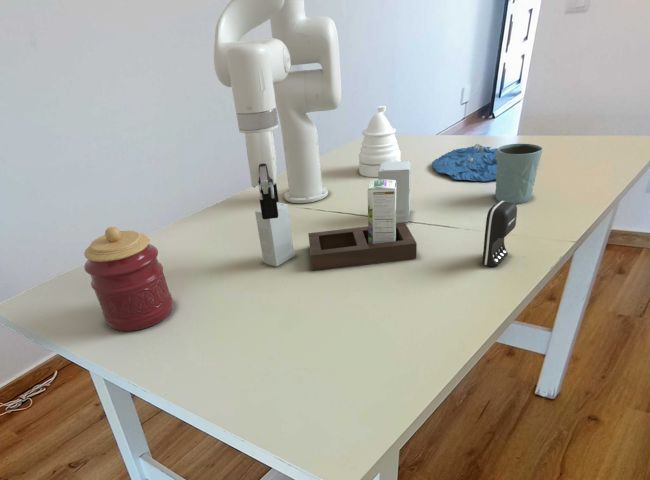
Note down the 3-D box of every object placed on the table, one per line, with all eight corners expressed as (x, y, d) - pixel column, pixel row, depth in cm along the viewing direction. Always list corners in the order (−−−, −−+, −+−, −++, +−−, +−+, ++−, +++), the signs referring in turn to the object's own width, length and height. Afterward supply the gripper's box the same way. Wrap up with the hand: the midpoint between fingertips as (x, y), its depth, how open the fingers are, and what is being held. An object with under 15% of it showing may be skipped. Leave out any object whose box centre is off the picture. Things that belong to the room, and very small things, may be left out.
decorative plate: (552, 180, 137) (556, 161, 134) (442, 189, 139) (444, 170, 135) (518, 148, 160) (521, 131, 157) (424, 156, 162) (425, 140, 159)
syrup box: (369, 245, 111) (367, 180, 103) (396, 244, 110) (396, 178, 102) (368, 256, 107) (366, 189, 99) (396, 255, 106) (396, 187, 98)
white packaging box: (409, 222, 120) (409, 169, 112) (378, 223, 121) (377, 170, 114) (410, 211, 125) (411, 160, 118) (381, 212, 127) (380, 161, 120)
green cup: (489, 203, 124) (495, 154, 117) (494, 190, 132) (499, 142, 125) (533, 205, 121) (542, 154, 114) (535, 191, 128) (543, 142, 121)
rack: (309, 247, 114) (308, 233, 112) (404, 236, 113) (404, 221, 111) (312, 270, 104) (311, 255, 102) (416, 258, 104) (416, 243, 102)
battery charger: (499, 269, 96) (507, 212, 90) (480, 265, 98) (486, 209, 92) (512, 255, 101) (521, 200, 94) (494, 252, 103) (501, 197, 96)
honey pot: (372, 163, 163) (370, 103, 153) (407, 166, 156) (408, 103, 146) (351, 174, 155) (348, 112, 145) (388, 178, 148) (387, 113, 138)
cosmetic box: (281, 253, 113) (273, 200, 106) (296, 257, 110) (289, 203, 103) (262, 263, 109) (253, 210, 102) (277, 268, 107) (268, 213, 100)
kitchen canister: (138, 339, 89) (104, 247, 79) (92, 323, 95) (55, 237, 85) (188, 304, 97) (164, 218, 87) (143, 292, 104) (115, 210, 93)
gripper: (240, 115, 100) (254, 199, 110) (234, 132, 86) (251, 227, 96) (277, 110, 100) (288, 195, 110) (277, 127, 86) (289, 222, 96)
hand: (270, 210), depth 103 cm, fingers open, 9 cm apart
